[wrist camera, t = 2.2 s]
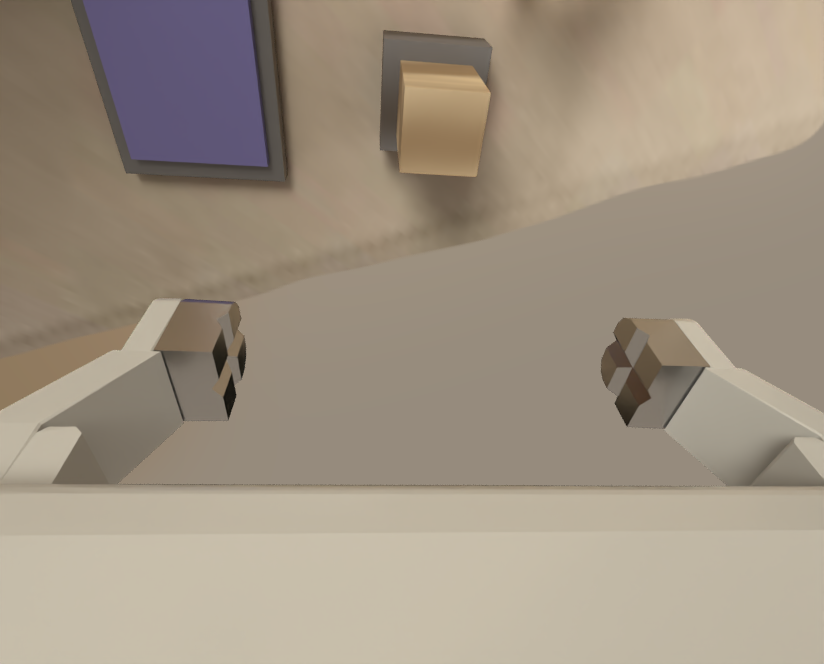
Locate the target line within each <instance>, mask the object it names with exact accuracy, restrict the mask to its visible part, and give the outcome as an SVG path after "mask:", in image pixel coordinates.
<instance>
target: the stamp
mask: <svg viewBox="0 0 824 664" xmlns="http://www.w3.org/2000/svg"><path fill="white" fill-rule="evenodd" d="M491 53H492V47H491V46H490V45H489V43H488V42H487V41H486V40H485V39H481V38H469V37H458V36H446V35H434V34H422V33H410V32H398V31H386V30H384V31H383V59H382V88H381V117H380V150H385V151H398V162H399V173H415V174H433V175H450V176H468V177H477V171H478V165H479V159H480V154H481V148H482V142H483V136H484V131H485V125H486V119H487V113H488V107H489V102H490V96H491V93H490V91H489V90H488V88H487V87H486V83H487V77H488V71H489V65H490V59H491Z"/></svg>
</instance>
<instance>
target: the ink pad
mask: <svg viewBox="0 0 824 664" xmlns="http://www.w3.org/2000/svg"><path fill="white" fill-rule="evenodd" d="M71 2H72V6H73V9H74V12H75V15H76V18H77V21H78V24H79V27H80V31H81V34H82V37H83V40H84V43H85V46H86V49H87V52H88V56H89V59H90V62H91V65H92V68H93V71H94V74H95V77H96V81H97V84H98V87H99V90H100V93H101V96H102V99H103V102H104V106H105V109H106V112H107V115H108V118H109V121H110V124H111V127H112V131H113V134H114V137H115V140H116V143H117V146H118V149H119V152H120V156H121V159H122V162H123V165H124V168H125V171H126V173H131V174H150V175H169V176H188V177H207V178H226V179H245V180H264V181H283V182H285V180H286V177H287V175H288V174H287V164H286V153H285V142H284V131H283V121H282V110H281V99H280V89H279V78H278V67H277V57H276V46H275V35H274V24H273V14H272V3H271V0H71Z"/></svg>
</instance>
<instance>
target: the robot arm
mask: <svg viewBox="0 0 824 664" xmlns="http://www.w3.org/2000/svg"><path fill="white" fill-rule="evenodd" d="M240 321H241V316H240V311H239V306H238V305H237V303H236V302H227V301H211V300H194V299H174V298H157V299H155V300H153V301H152V303H151V304H150V306H149V307H148V309H147V310H146V312H145V314H144V315H143V317H142V318H141V320H140V321H139V323H138V324H137V326H136V328H135V329H134V331H133V332H132V334H131V335H130V337H129V338H128V340H127V342H126V343H125V345H124V346H123V348H122V349H121V350H112V351H110V352H108V353H107V354H105V355H103V356H101V357H99V358H97V359H95V360H93V361H92V362H90V363H88V364H86V365H84V366H82V367H80V368H78V369H77V370H75V371H73V372H71V373H69V374H68V375H66V376H64V377H62V378H60V379H58V380H56V381H54V382H52V383H51V384H49V385H47V386H45V387H43V388H41V389H40V390H38V391H36V392H34V393H32V394H30V395H28V396H27V397H25V398H23V399H21V400H19V401H17V402H16V403H14V404H12V405H10V406H8V407H6V408H4V409H3V410H1V411H0V664H824V413H822V412H820V411H819V410H817V409H815V408H813V407H811V406H809V405H808V404H806V403H804V402H802V401H801V400H799V399H797V398H795V397H793V396H792V395H790V394H788V393H786V392H784V391H782V390H780V389H779V388H777V387H775V386H773V385H771V384H770V383H768V382H766V381H764V380H763V379H761V378H759V377H757V376H755V375H753V374H752V373H750V372H748V371H746V370H744V369H738V368H735V367H734V365H733V364H732V363H731V362H730V361H729V360H728V359H727V357H726V356H725V355H724V354H723V353H722V351H721V350H720V349H719V348H718V347H717V345H716V344H715V343H714V342H713V341H712V339H711V338H710V337H709V336H708V335H707V334H706V333H705V331H704V330H703V329H702V328H701V327H700V325H699V324H698V323H697V322H695V321H693V320H691V319H641V318H640V319H639V318H623V319H622V320H621V321H620V322H619V323H618V324H617V326H616V328H615V330H614V332H613V333H614V335H615V338H616V341H615V342H613V343H612V344H611V345H609V346H608V347H607V348H606V350H605V352H604V355H603V357H602V360H601V374H602V379H603V381H604V383H605V385H606V388H607V389H608V390H610V391H611V392H612V393H614V394H615V395H617V399H616V401H615V405H616V407H617V409H618V411H619V413H620V415H621V417H622V419H623V420H624V422H625V424H626V426H627V427H638V428H662V429H665V432H667V433H668V434H669V435H670V436H671V437H672V438H673V439H674V440H676V441H677V442H678V443H679V444H680V445H681V446H682V447H684V448H685V449H686V450H687V451H688V452H689V453H690V454H692V455H693V456H694V457H695V458H696V459H697V460H699V461H700V462H701V463H702V464H703V465H704V466H705V467H706V468H708V469H709V470H710V471H711V472H712V473H713V474H714V475H715V476H717V477H718V478H719V479H720V480H721V481H722V482H723V483H725V484H726V485H727V486H539V485H538V486H537V485H536V486H535V485H533V486H531V485H530V486H528V485H527V486H525V485H516V486H514V485H509V486H508V485H217V484H214V485H213V484H210V485H209V484H208V485H207V484H205V485H203V484H202V485H201V484H199V485H197V484H196V485H195V484H190V485H189V484H183V485H182V484H118V483H119V482H120V481H121V480H122V479H123V478H124V477H125V476H127V475H128V474H129V473H130V472H131V471H132V470H133V469H134V468H135V467H136V466H138V465H139V464H140V463H141V462H142V461H143V460H144V459H145V458H146V457H147V456H149V455H150V454H151V453H152V452H153V451H154V450H155V449H156V448H157V447H158V446H159V445H161V444H162V443H163V442H164V441H165V440H166V439H167V438H168V437H169V436H170V435H172V434H173V433H174V432H175V431H176V430H177V429H178V428H179V427H180V426H181V425H182V424H183V423H184V422H183V421H228V420H229V417H230V414H231V410H232V408H233V405H234V402H235V398H236V391H235V387H234V385H235V384H236V383H237V382H239V381H240V380H242V376H243V373H244V369H245V361H246V344H245V338H244V335H243V334H242V333H241V332H240V331H239V330H238V326H239V323H240Z"/></svg>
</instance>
